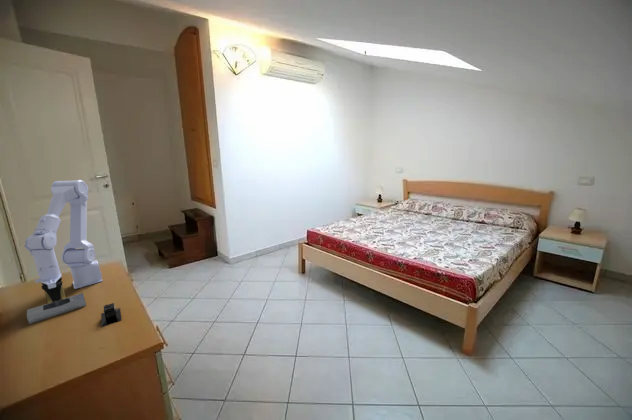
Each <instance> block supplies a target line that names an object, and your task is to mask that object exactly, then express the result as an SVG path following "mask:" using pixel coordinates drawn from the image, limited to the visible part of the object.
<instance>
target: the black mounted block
mask: <svg viewBox="0 0 632 420" xmlns="http://www.w3.org/2000/svg"><path fill="white" fill-rule="evenodd" d="M100 317H101V318H100V319H101V321H100V323H101V324H100V328H103V327H104V328H105V327H106V326H109V325H113V324H115V323H118V322H121V321H122V313H121V307H120V308H119V307H118V308H116V306H115V303H114V302H113V303H109V304H105V305H103V312H102V313H101V316H100Z"/></svg>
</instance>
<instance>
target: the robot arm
mask: <svg viewBox="0 0 632 420" xmlns="http://www.w3.org/2000/svg"><path fill="white" fill-rule="evenodd" d="M50 193H51V194H52V195H51V199H50V203H49V205H48V209H47V212H46V214H44V215H41V216H40V217H39V220H38V223H37V224H36V227H35V229H34V231H33V232H32V234H31V235H28V237H26V239H25V241H24V242H25V243H24V248H25V250H27V251H29V253H30V255H31V256H32V257H33V260H34V264H35V268H36V270H37V275H38V277H39V278H36V279H35V283H36V284H38V283H41V289H42V291H44V292H45V291H46V292H47V293H48V295H49V296H50V298H51V301H52V302H55V301H58V300H61V299H62V297H61V286H62V285H63V283H64V282H63V281H62V276H63V274H62V273H61V270H60V266H59V262H58V259H57V256H56V255H57V254H56V252H55V248H56V245H57V243H58V240H57V239H58V238H57V236H58V235H57V231H58V230H59V227H60V224H61V222H62V220H61V218H60V215H61V213H62V212H63V209H64V208H65V206H66V204H67V202H68V204H70V213H69V214H70V216H69V218H70V220H69V221H70V222H69V227H70V229H69V237H70V238H69V242H68V243H67V244H65V245H64V246H63V251H62V253H61V254H62V255H61V261H62V263H63V264H65V265H67V267H69V268H70V269H69V270H70V272H71V277H72V280H73V281H72V286H73V289H74V290H76V289H79V288H83V287H88V286H91V285H94V284H98V283H101V282H103V277H102V271H101V269H100V264H99V262H98V260H97V259H96V255H97V254H96V251H95V248H94V247H95V245H94V244H93V243H91V242H89V241H88V239H87V234H88V233H87V232H88V231H87V230H88V229H87V226H88V225H87V224H88V218H87V216H88V209H87V208H88V200H89V186H88V185H87V183H86V182H85V181H84V180H82V179H76V180H55V181H53V183H52V184H51V188H50ZM95 259H96V260H95Z"/></svg>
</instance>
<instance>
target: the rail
mask: <svg viewBox="0 0 632 420" xmlns="http://www.w3.org/2000/svg"><path fill="white" fill-rule="evenodd" d="M86 306H87V302H86V299H85V296H84V293H83V292H82V293H78V294H76V295H71V296H69V297H66V298H65V299H62V298H61V299H60V300H58V301H54V302H53V301H52V302H51V303H45V304H42V305H39V306H35V307H32V308H27V309H26V318H27V322H28V325H31V324H34V323H37V322H40V321H44V320H47V319H49V318H53V317H56V316H59V315H62V314H65V313H69V312H71V311H74V310H77V309H80V308H84V307H86Z"/></svg>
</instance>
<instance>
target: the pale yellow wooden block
mask: <svg viewBox="0 0 632 420" xmlns="http://www.w3.org/2000/svg"><path fill="white" fill-rule="evenodd" d="M44 295H45V298H46V302H47V303H46V304H48V303H51V302H53V301H52V300H51V298H50V296H49V295H48V293H47V292H46V291H44ZM65 298H67V297H66V294H65V290H64V286H63V284H62V286H61V299H65Z"/></svg>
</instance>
